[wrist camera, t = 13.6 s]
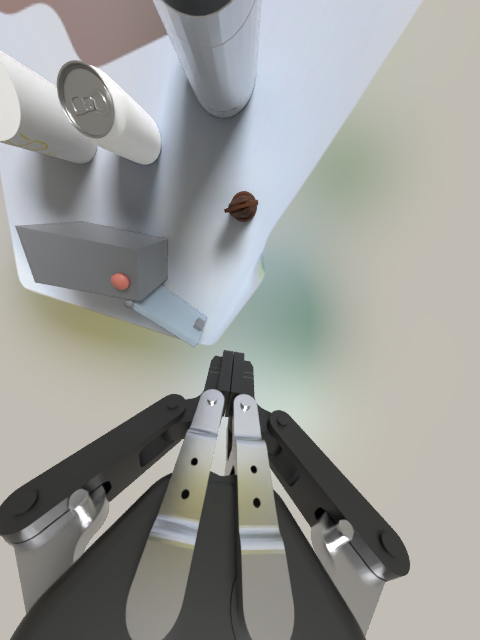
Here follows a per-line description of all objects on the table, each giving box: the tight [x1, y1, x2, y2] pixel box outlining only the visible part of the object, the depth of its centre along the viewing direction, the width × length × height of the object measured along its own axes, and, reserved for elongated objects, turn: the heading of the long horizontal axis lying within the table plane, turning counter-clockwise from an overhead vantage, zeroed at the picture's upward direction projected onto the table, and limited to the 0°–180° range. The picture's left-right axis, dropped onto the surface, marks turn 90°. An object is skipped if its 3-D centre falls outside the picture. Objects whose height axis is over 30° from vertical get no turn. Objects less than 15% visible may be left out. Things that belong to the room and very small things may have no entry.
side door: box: [124, 284, 207, 347], centre depth 38 cm, size 2×14×11 cm, turn 50°
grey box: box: [15, 221, 167, 301], centre depth 33 cm, size 8×18×13 cm, turn 79°
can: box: [57, 60, 161, 165], centre depth 25 cm, size 6×6×12 cm
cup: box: [0, 50, 97, 164], centre depth 25 cm, size 8×8×12 cm
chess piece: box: [224, 191, 258, 222], centre depth 30 cm, size 5×5×10 cm
